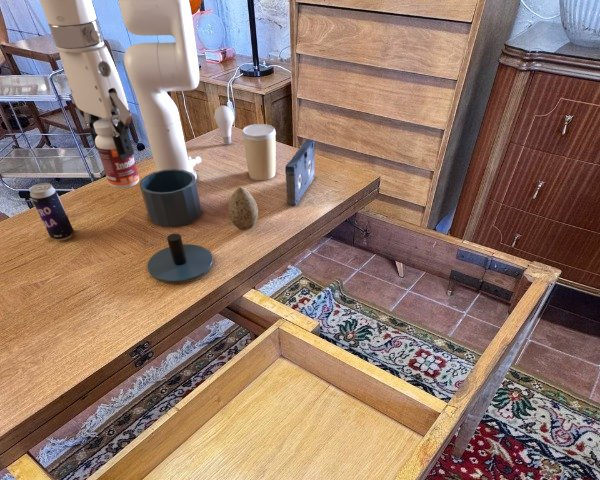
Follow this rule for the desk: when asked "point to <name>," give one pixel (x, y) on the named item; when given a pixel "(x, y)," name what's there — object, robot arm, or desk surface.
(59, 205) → the beverage can
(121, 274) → the desk surface
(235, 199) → the decorative egg
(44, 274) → the desk surface
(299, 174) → the vhs cassette tape
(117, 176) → the pill bottle
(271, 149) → the coffee cup
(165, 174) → the tin
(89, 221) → the desk surface
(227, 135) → the lightbulb
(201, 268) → the tin lid
